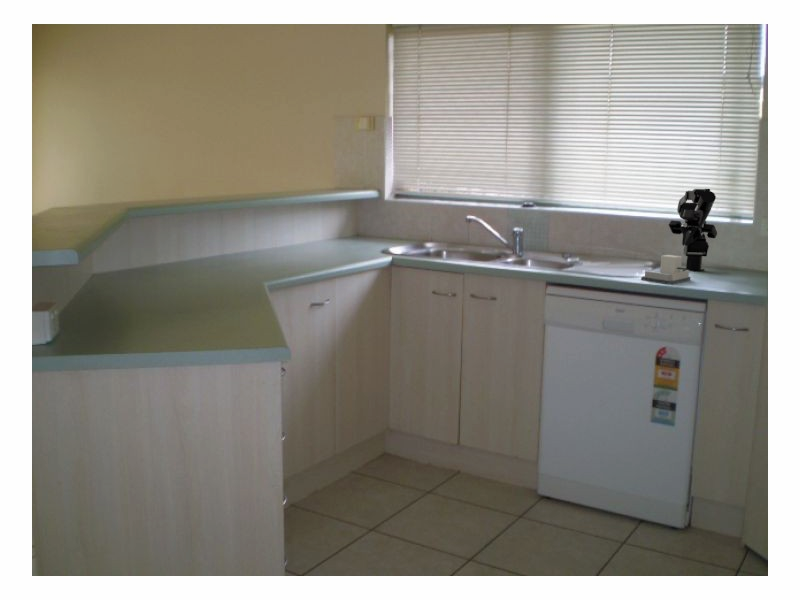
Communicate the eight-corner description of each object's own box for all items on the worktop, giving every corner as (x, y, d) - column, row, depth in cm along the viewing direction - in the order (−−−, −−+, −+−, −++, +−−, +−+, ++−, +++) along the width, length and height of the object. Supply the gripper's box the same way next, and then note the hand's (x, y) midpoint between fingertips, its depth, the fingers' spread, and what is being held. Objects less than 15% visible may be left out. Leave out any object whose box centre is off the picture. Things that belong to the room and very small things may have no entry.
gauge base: (660, 275, 358) (660, 265, 358) (690, 280, 350) (691, 269, 349) (641, 279, 348) (641, 269, 348) (671, 284, 339) (672, 273, 339)
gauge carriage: (666, 273, 355) (667, 254, 353) (687, 276, 348) (688, 257, 347) (660, 274, 351) (661, 255, 350) (681, 277, 345) (682, 258, 344)
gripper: (672, 200, 362) (656, 229, 357) (716, 204, 349) (700, 234, 344) (680, 218, 369) (665, 247, 364) (723, 222, 356) (708, 252, 351)
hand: (684, 245), depth 355 cm, fingers closed
